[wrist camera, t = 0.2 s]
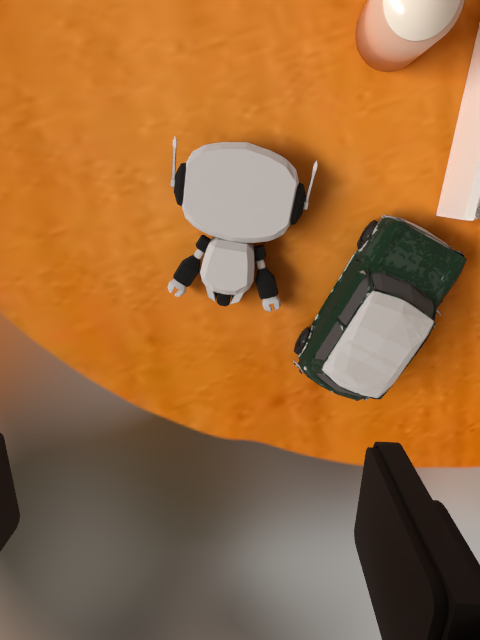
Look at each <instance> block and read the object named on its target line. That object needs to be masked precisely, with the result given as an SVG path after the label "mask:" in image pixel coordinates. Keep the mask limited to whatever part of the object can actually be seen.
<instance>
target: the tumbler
mask: <svg viewBox="0 0 480 640" xmlns="http://www.w3.org/2000/svg"><path fill="white" fill-rule="evenodd" d="M464 1H465V0H368V1H367V2H366V4H365V6H364V7H363V9H362V11H361V13H360V15H359V18H358V21H357V26H356V44H357V48H358V51H359V53H360V55H361V57H362V59H363V60H364V61H365V62H366V63H367V64H368V65H369V66H370V67H372V68H374V69H376V70H379V71H383V72H391V71H396V70H399V69H402V68H404V67H405V66H407V65H408V64H410V63H411V62H412V61H413V60H415V59H416V58H417V57H419V56H420V55H421V54H422V53H424V52H425V51H426V50H427V49H429V48H430V47H431V46H432V45H434V44H435V43H436V42H437V41H439V40H440V39H441V38H442V37H444V36H445V35H446V34H447V33H448V32H449V31H450V29H451V28H452V27H453V26H454V24H455V23H456V21H457V19H458V17H459V15H460V13H461V11H462V8H463V5H464Z"/></svg>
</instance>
